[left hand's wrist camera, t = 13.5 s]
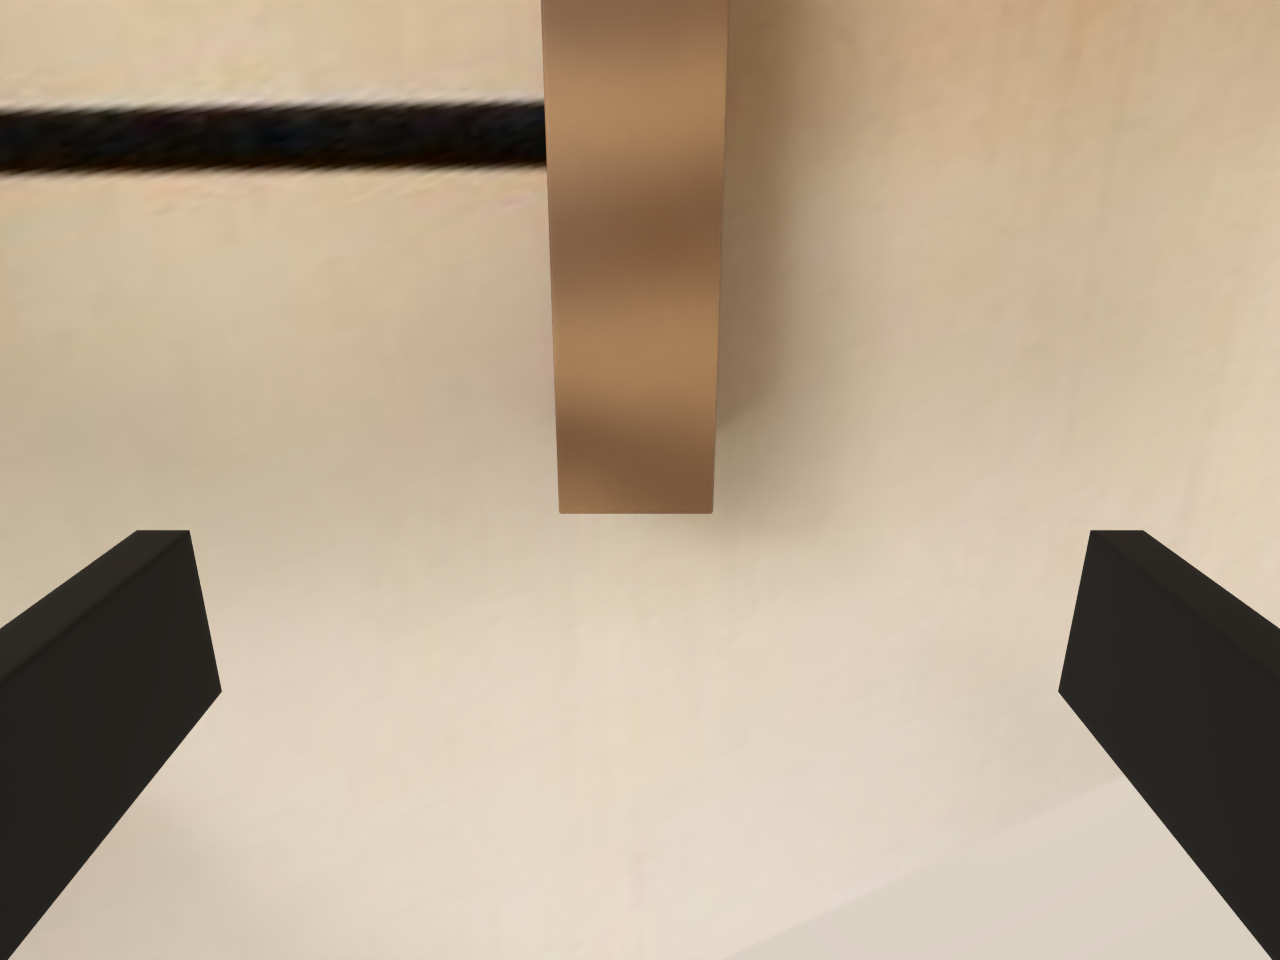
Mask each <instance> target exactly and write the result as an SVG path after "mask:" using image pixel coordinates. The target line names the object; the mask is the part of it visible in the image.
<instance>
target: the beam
mask: <svg viewBox="0 0 1280 960" xmlns="http://www.w3.org/2000/svg"><path fill="white" fill-rule="evenodd" d="M541 15H542V44H543V72H544V100H545V128H546V157H547V185H548V213H549V241H550V269H551V298H552V326H553V354H554V382H555V410H556V439H557V467H558V495H559V512H560V513H568V514H711V513H712V512H713V494H714V463H715V432H716V401H717V370H718V339H719V308H720V277H721V246H722V216H723V185H724V154H725V123H726V92H727V61H728V30H729V0H541Z"/></svg>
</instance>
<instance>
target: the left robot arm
mask: <svg viewBox="0 0 1280 960" xmlns="http://www.w3.org/2000/svg"><path fill="white" fill-rule="evenodd" d="M221 692H222V690H221V685H220V680H219V675H218V670H217V665H216V660H215V655H214V650H213V645H212V640H211V635H210V630H209V625H208V620H207V615H206V610H205V605H204V600H203V595H202V590H201V586H200V581H199V576H198V571H197V566H196V561H195V556H194V551H193V546H192V541H191V536H190V531H189V530H137V531H135V532H134V533H133V534H131V535H130V536H128V537H127V538H126V539H124V540H123V541H121V542H120V543H119V544H117V545H116V546H114V547H113V548H112V549H110V550H109V551H108V552H106V553H105V554H103V555H102V556H101V557H99V558H98V559H96V560H95V561H94V562H92V563H91V564H89V565H88V566H87V567H85V568H84V569H83V570H81V571H80V572H78V573H77V574H76V575H74V576H73V577H71V578H70V579H69V580H67V581H66V582H64V583H63V584H62V585H60V586H59V587H58V588H56V589H55V590H53V591H52V592H51V593H49V594H48V595H46V596H45V597H44V598H42V599H41V600H39V601H38V602H37V603H35V604H34V605H33V606H31V607H30V608H28V609H27V610H26V611H24V612H23V613H21V614H20V615H19V616H17V617H16V618H15V619H13V620H12V621H10V622H9V623H8V624H6V625H5V626H3V627H2V628H1V629H0V960H8V959H9V957H10V956H11V955H12V954H13V952H14V951H15V950H16V949H17V947H18V946H19V945H20V944H21V942H22V941H23V940H24V939H25V937H26V936H27V935H28V934H29V932H30V931H31V930H32V929H33V927H34V926H35V925H36V924H37V922H38V921H39V920H40V919H41V917H42V916H43V915H44V914H45V912H46V911H47V910H48V909H49V907H50V906H51V905H52V904H53V902H54V901H55V900H56V899H57V897H58V896H59V895H60V894H61V892H62V891H63V890H64V889H65V887H66V886H67V885H68V884H69V882H70V881H71V880H72V879H73V877H74V876H75V875H76V874H77V872H78V871H79V870H80V869H81V867H82V866H83V865H84V864H85V862H86V861H87V860H88V859H89V857H90V856H91V855H92V854H93V852H94V851H95V850H96V849H97V847H98V846H99V845H100V844H101V842H102V841H103V840H104V838H105V837H106V836H107V835H108V833H109V832H110V831H111V830H112V828H113V827H114V826H115V825H116V823H117V822H118V821H119V820H120V818H121V817H122V816H123V815H124V813H125V812H126V811H127V810H128V808H129V807H130V806H131V805H132V803H133V802H134V801H135V800H136V798H137V797H138V796H139V795H140V793H141V792H142V791H143V790H144V788H145V787H146V786H147V785H148V783H149V782H150V781H151V780H152V778H153V777H154V776H155V775H156V773H157V772H158V771H159V770H160V768H161V767H162V766H163V765H164V763H165V762H166V761H167V760H168V758H169V757H170V756H171V755H172V753H173V752H174V751H175V750H176V748H177V747H178V746H179V745H180V743H181V742H182V741H183V740H184V738H185V737H186V736H187V735H188V733H189V732H190V731H191V730H192V728H193V727H194V726H195V725H196V723H197V722H198V721H199V720H200V718H201V717H202V716H203V715H204V713H205V712H206V711H207V710H208V708H209V707H210V706H211V705H212V703H213V702H214V701H215V699H216V698H217V697H218V696H219V694H220V693H221ZM1058 692H1059V693H1060V694H1061V696H1062V697H1063V698H1064V699H1065V701H1066V702H1067V703H1068V705H1069V706H1070V707H1071V708H1072V710H1073V711H1074V712H1075V713H1076V715H1077V716H1078V717H1079V718H1080V720H1081V721H1082V722H1083V723H1084V725H1085V726H1086V727H1087V728H1088V730H1089V731H1090V732H1091V733H1092V735H1093V736H1094V737H1095V738H1096V740H1097V741H1098V742H1099V743H1100V745H1101V746H1102V747H1103V748H1104V750H1105V751H1106V752H1107V753H1108V755H1109V756H1110V757H1111V758H1112V760H1113V761H1114V762H1115V763H1116V765H1117V766H1118V767H1119V768H1120V770H1121V771H1122V772H1123V773H1124V775H1125V776H1126V777H1127V778H1128V780H1129V781H1130V782H1131V783H1132V785H1133V786H1134V787H1135V788H1136V790H1137V791H1138V792H1139V793H1140V795H1141V796H1142V797H1143V798H1144V800H1145V801H1146V802H1147V803H1148V805H1149V806H1150V807H1151V808H1152V810H1153V811H1154V812H1155V813H1156V815H1157V816H1158V817H1159V818H1160V820H1161V821H1162V822H1163V823H1164V825H1165V826H1166V827H1167V828H1168V830H1169V831H1170V832H1171V833H1172V835H1173V836H1174V837H1175V838H1176V840H1177V841H1178V842H1179V843H1180V845H1181V846H1182V847H1183V848H1184V850H1185V851H1186V852H1187V854H1188V855H1189V856H1190V857H1191V858H1192V860H1193V861H1194V862H1195V864H1196V865H1197V866H1198V867H1199V868H1200V870H1201V871H1202V872H1203V874H1204V875H1205V876H1206V877H1207V879H1208V880H1209V881H1210V882H1211V884H1212V885H1213V886H1214V887H1215V889H1216V890H1217V891H1218V892H1219V894H1220V895H1221V896H1222V897H1223V899H1224V900H1225V901H1226V902H1227V904H1228V905H1229V906H1230V907H1231V909H1232V910H1233V911H1234V912H1235V914H1236V915H1237V916H1238V917H1239V919H1240V920H1241V921H1242V922H1243V924H1244V925H1245V926H1246V927H1247V929H1248V930H1249V931H1250V932H1251V934H1252V935H1253V936H1254V937H1255V939H1256V940H1257V941H1258V942H1259V944H1260V945H1261V946H1262V947H1263V949H1264V950H1265V951H1266V952H1267V954H1268V955H1269V956H1270V957H1271V959H1272V960H1280V629H1279V628H1278V627H1277V626H1275V625H1274V624H1272V623H1271V622H1270V621H1268V620H1267V619H1265V618H1264V617H1263V616H1261V615H1260V614H1259V613H1257V612H1256V611H1254V610H1253V609H1252V608H1250V607H1249V606H1247V605H1246V604H1245V603H1243V602H1242V601H1241V600H1239V599H1238V598H1236V597H1235V596H1234V595H1232V594H1231V593H1229V592H1228V591H1227V590H1225V589H1224V588H1222V587H1221V586H1220V585H1218V584H1217V583H1216V582H1214V581H1213V580H1211V579H1210V578H1209V577H1207V576H1206V575H1204V574H1203V573H1202V572H1200V571H1199V570H1197V569H1196V568H1195V567H1193V566H1192V565H1191V564H1189V563H1188V562H1186V561H1185V560H1184V559H1182V558H1181V557H1179V556H1178V555H1177V554H1175V553H1174V552H1172V551H1171V550H1170V549H1168V548H1167V547H1166V546H1164V545H1163V544H1161V543H1160V542H1159V541H1157V540H1156V539H1154V538H1153V537H1152V536H1150V535H1149V534H1147V533H1146V532H1145V531H1143V530H1091V531H1090V536H1089V541H1088V546H1087V551H1086V556H1085V561H1084V566H1083V571H1082V576H1081V581H1080V586H1079V590H1078V595H1077V600H1076V605H1075V610H1074V615H1073V620H1072V625H1071V630H1070V635H1069V640H1068V645H1067V650H1066V655H1065V660H1064V665H1063V670H1062V675H1061V680H1060V685H1059V690H1058Z"/></svg>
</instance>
